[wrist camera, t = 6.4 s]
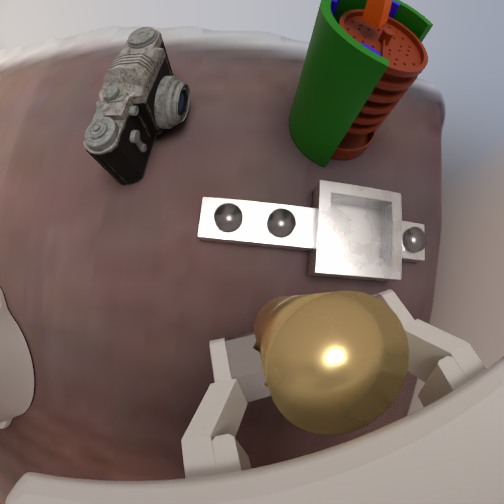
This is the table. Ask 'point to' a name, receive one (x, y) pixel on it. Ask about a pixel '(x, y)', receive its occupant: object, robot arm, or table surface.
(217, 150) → the table surface
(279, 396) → the link pin
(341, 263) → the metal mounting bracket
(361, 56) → the motor
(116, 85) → the camera
